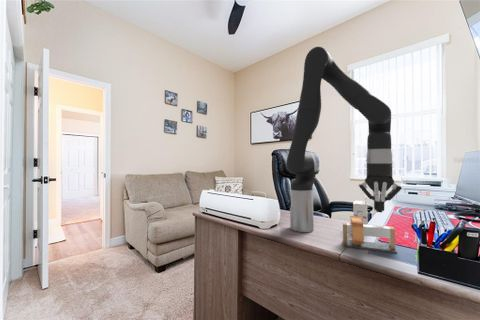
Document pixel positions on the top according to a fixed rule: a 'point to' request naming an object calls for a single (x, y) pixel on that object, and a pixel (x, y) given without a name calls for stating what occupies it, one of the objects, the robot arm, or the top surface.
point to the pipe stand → (375, 232)
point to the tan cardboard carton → (357, 230)
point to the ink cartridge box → (361, 210)
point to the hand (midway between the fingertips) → (379, 211)
